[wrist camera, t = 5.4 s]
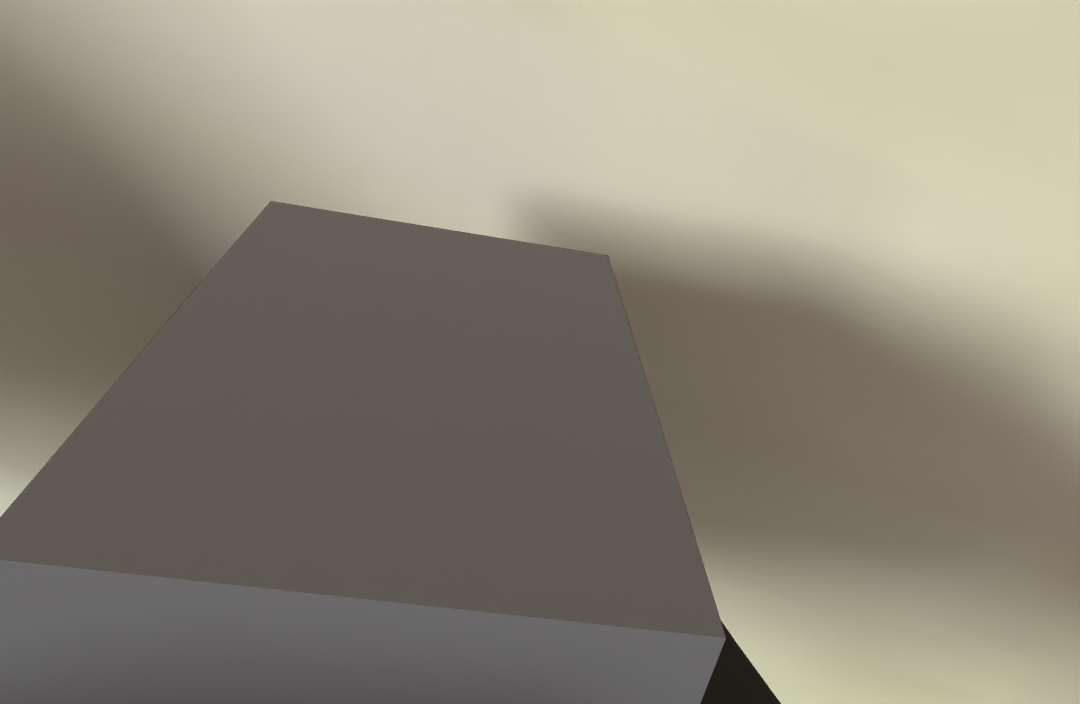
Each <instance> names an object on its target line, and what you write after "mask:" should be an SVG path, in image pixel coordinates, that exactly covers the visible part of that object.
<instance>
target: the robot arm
mask: <svg viewBox="0 0 1080 704" xmlns="http://www.w3.org/2000/svg"><path fill="white" fill-rule="evenodd" d="M721 623H722V621H721ZM722 626H723V630H724V633H725V636H726V640H725V642H724V645H723V647H722V650H721V652H720V655H719V657H718V660H717V662H716V665H715V667H714V670H713V673H712V675H711V678H710V680H709V683H708V685H707V688H706V690H705V693H704V695H703V698H702V701H701V703H700V704H781V703H780V702H779V700H778V699H777V698H776V696H775V695H774V694H773V692H772V691H771V690H770V688H769V687H768V685H767V684H766V683H765V681H764V680H763V679H762V677H761V676H760V674H759V673H758V672H757V670H756V669H755V668H754V666H753V665H752V663H751V662H750V661H749V659H748V658H747V657H746V655H745V654H744V652H743V651H742V650H741V648H740V647H739V646H738V644H737V643H736V641H735V640H734V639H733V637H732V636H731V634H730V633H729V631H728V630H727V629H726V627H725V626H724V624H723V623H722Z"/></svg>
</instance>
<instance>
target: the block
mask: <svg viewBox="0 0 1080 704" xmlns="http://www.w3.org/2000/svg"><path fill="white" fill-rule="evenodd" d="M725 640H726V636H725V633H724V630H723V626H722V623H721V620H720V617H719V614H718V610H717V607H716V604H715V601H714V597H713V594H712V591H711V588H710V584H709V581H708V578H707V575H706V571H705V568H704V565H703V562H702V559H701V555H700V552H699V549H698V546H697V542H696V539H695V536H694V533H693V529H692V526H691V523H690V520H689V516H688V513H687V510H686V507H685V503H684V500H683V497H682V494H681V491H680V487H679V484H678V481H677V478H676V474H675V471H674V468H673V465H672V461H671V458H670V455H669V452H668V448H667V445H666V442H665V439H664V436H663V432H662V429H661V426H660V423H659V419H658V416H657V413H656V410H655V406H654V403H653V400H652V397H651V393H650V390H649V387H648V384H647V380H646V377H645V374H644V371H643V368H642V364H641V361H640V358H639V355H638V351H637V348H636V345H635V342H634V338H633V335H632V332H631V329H630V325H629V322H628V319H627V316H626V313H625V309H624V306H623V303H622V300H621V296H620V293H619V290H618V287H617V283H616V280H615V277H614V274H613V270H612V267H611V264H610V261H609V257H608V256H607V255H601V254H595V253H589V252H582V251H576V250H570V249H564V248H558V247H552V246H545V245H539V244H533V243H527V242H521V241H514V240H508V239H502V238H496V237H490V236H483V235H477V234H471V233H465V232H459V231H452V230H446V229H440V228H434V227H428V226H421V225H415V224H409V223H403V222H397V221H390V220H384V219H378V218H372V217H366V216H359V215H353V214H347V213H341V212H335V211H328V210H322V209H316V208H310V207H304V206H297V205H291V204H285V203H279V202H273V201H270V203H269V204H268V205H267V206H266V207H265V208H264V210H263V211H262V212H261V213H260V214H259V215H258V217H257V218H256V219H255V220H254V221H253V222H252V224H251V225H250V226H249V227H248V228H247V229H246V231H245V232H244V233H243V234H242V235H241V236H240V238H239V239H238V240H237V241H236V242H235V243H234V245H233V246H232V247H231V248H230V249H229V251H228V252H227V253H226V254H225V255H224V256H223V258H222V259H221V260H220V261H219V262H218V263H217V265H216V266H215V267H214V268H213V269H212V270H211V272H210V273H209V274H208V275H207V276H206V277H205V279H204V280H203V281H202V282H201V283H200V284H199V286H198V287H197V288H196V289H195V290H194V291H193V293H192V294H191V295H190V296H189V297H188V298H187V300H186V301H185V302H184V303H183V304H182V305H181V307H180V308H179V309H178V310H177V311H176V312H175V314H174V315H173V316H172V317H171V318H170V320H169V321H168V322H167V323H166V324H165V325H164V327H163V328H162V329H161V330H160V331H159V332H158V334H157V335H156V336H155V337H154V338H153V339H152V341H151V342H150V343H149V344H148V345H147V346H146V348H145V349H144V350H143V351H142V352H141V353H140V355H139V356H138V357H137V358H136V359H135V360H134V362H133V363H132V364H131V365H130V366H129V367H128V369H127V370H126V371H125V372H124V373H123V374H122V376H121V377H120V378H119V379H118V380H117V381H116V383H115V384H114V385H113V386H112V387H111V388H110V390H109V391H108V392H107V393H106V394H105V396H104V397H103V398H102V399H101V400H100V401H99V403H98V404H97V405H96V406H95V407H94V408H93V410H92V411H91V412H90V413H89V414H88V415H87V417H86V418H85V419H84V420H83V421H82V422H81V424H80V425H79V426H78V427H77V428H76V429H75V431H74V432H73V433H72V434H71V435H70V436H69V438H68V439H67V440H66V441H65V442H64V443H63V445H62V446H61V447H60V448H59V449H58V450H57V452H56V453H55V454H54V455H53V456H52V457H51V459H50V460H49V461H48V462H47V463H46V465H45V466H44V467H43V468H42V469H41V470H40V472H39V473H38V474H37V475H36V476H35V477H34V479H33V480H32V481H31V482H30V483H29V484H28V486H27V487H26V488H25V489H24V490H23V491H22V493H21V494H20V495H19V496H18V497H17V498H16V500H15V501H14V502H13V503H12V504H11V505H10V507H9V508H8V509H7V510H6V511H5V512H4V514H3V515H2V516H1V517H0V704H700V703H701V701H702V698H703V695H704V693H705V690H706V688H707V685H708V683H709V680H710V678H711V675H712V673H713V670H714V667H715V665H716V662H717V660H718V657H719V655H720V652H721V650H722V647H723V645H724V642H725Z"/></svg>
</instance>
